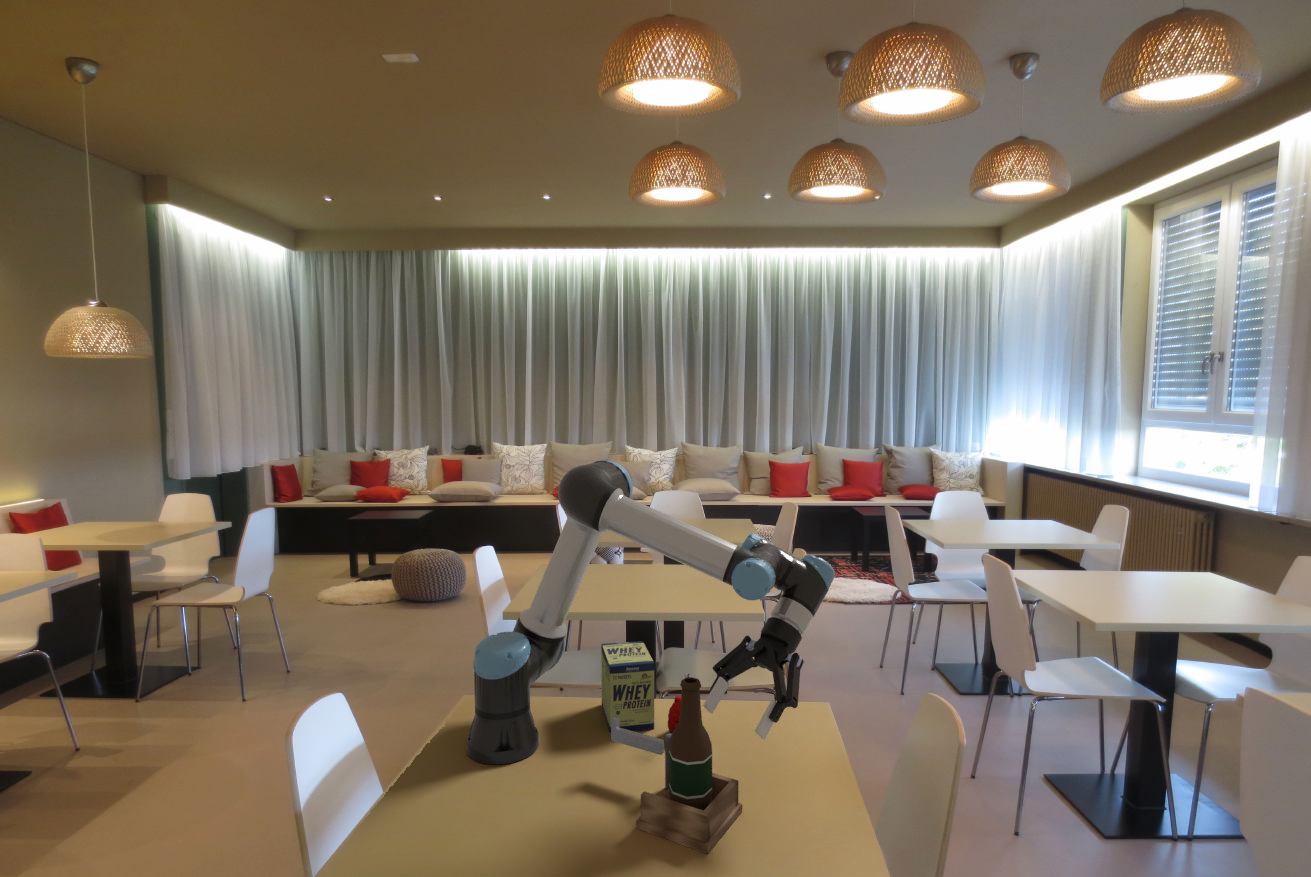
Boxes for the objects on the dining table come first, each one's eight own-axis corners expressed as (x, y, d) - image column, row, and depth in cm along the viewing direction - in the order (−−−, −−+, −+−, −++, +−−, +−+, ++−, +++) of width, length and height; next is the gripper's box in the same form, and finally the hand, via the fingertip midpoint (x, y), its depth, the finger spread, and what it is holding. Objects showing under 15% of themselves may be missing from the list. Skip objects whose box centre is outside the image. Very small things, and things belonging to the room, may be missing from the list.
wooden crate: (626, 824, 127) (626, 767, 126) (668, 785, 140) (668, 732, 139) (708, 854, 119) (708, 792, 118) (744, 809, 131) (744, 753, 131)
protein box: (609, 734, 161) (609, 666, 160) (600, 704, 176) (600, 642, 175) (655, 729, 163) (655, 662, 162) (642, 701, 178) (642, 639, 177)
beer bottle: (709, 826, 124) (709, 690, 122) (664, 821, 125) (665, 687, 124) (714, 801, 131) (715, 673, 130) (672, 796, 133) (673, 670, 131)
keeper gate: (611, 740, 144) (611, 718, 144) (614, 738, 145) (614, 716, 145) (660, 755, 138) (660, 732, 138) (663, 752, 139) (663, 729, 139)
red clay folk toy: (698, 726, 164) (699, 662, 163) (704, 741, 157) (705, 674, 156) (665, 728, 163) (665, 664, 162) (670, 743, 156) (670, 676, 155)
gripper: (846, 653, 135) (793, 757, 126) (749, 621, 154) (697, 709, 145) (829, 632, 131) (773, 737, 122) (731, 601, 150) (678, 690, 142)
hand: (732, 722), depth 134 cm, fingers open, 13 cm apart
